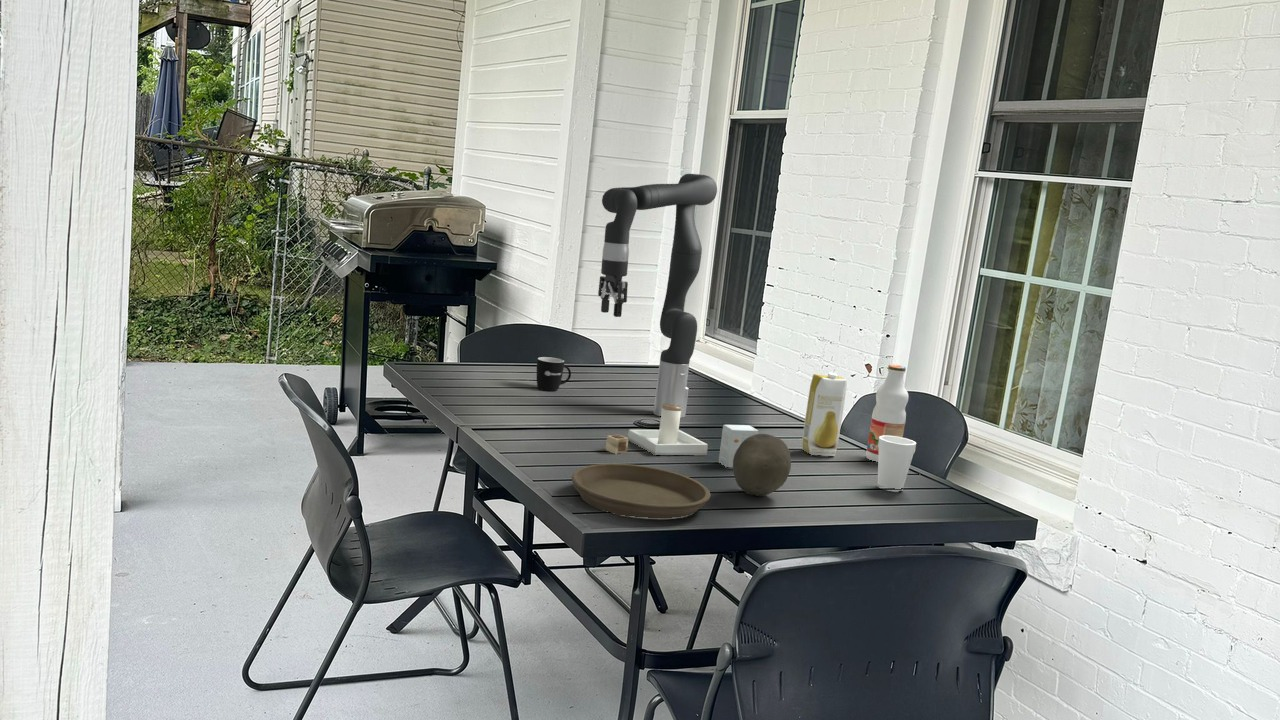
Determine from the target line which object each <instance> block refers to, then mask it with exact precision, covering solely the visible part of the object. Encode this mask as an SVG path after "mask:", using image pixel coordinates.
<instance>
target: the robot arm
mask: <svg viewBox="0 0 1280 720" xmlns="http://www.w3.org/2000/svg"><path fill="white" fill-rule="evenodd" d="M717 193H718V185H717V183H716V181H715V179H714V178H712V177H711V176H709V175H707V174H706V175H705V174H698V173H685V174H683V175H682V176H681V178H680V179H679V181H678V183H651V184H645V185H643V184H642V185H638V186H632V187H623V186H622V187H612V188H609V189H608V190H606V191H605V192H604V194H603V195H602V198H601V205H602V206H603V208H604V210H606V211H607V212H609V213H612V214H615V217H614V220H612V221H609V222H608V223H606V225H605V231H604V240H603V242H604V243H603V248H602V256H601V257H602V258H601V259H602V260H601V269H600V274H602V276H601V275H600V276H599V282H598V283H599V285H598V293H597V295H598V297H600V299H601V305H600V312H601V313H609V311H610V299H611V298H613V301H614V302H613V314H612V315H613V317H615V318H621V317H622V310H623V305H624V303H625V304H627V302H628V281H623V277H627V275H628V268H629V267H628V266H629V254H630V253H629V252H630V251H629V250H630V248H629V243H630V230H631V228H632V225H633V221H634V218H635V216H636V212H637V211H645V210H647V211H648V210H652V209H658V208H664V207H670V206H675V223H674V232H673V233H674V234H673V240H672V248H671V255H670V263H669V264H670V265H669V273H668V279H667V285H666V292H665V293H666V294H665V297H664V302H663V305H662V309H661V310H662V311H661V314H660V320H659V328H660V332H661V334H662V335H663V336H664V337H666V338H668V339H670V341H669V342H670V343H669V346H668V348H666V349H664V350H662V351H661V353H660V358H659V365H658V374H657V382H656V389H655V398H654V405H653V415H654V416H657V417H660V416H661V413H662V404H665V403H669V404H676V405H680V406H682V410H681V415H680V419H681V418H685V417H686V413H687V412H686V411H687V405H688V397H689V396H688V395H689V389H690V388H689V387H688V386H687V385H688V375H689V370H690V369H689V368H690V361H691V358H692V356H693V354H694V352H695V351H694V350H695V345H696V340H697V333H698V321H697V319H696V317H695V316H694V315H693V314H691V313H689V312H687V311H685V305H686V297H687V294H688V291H689V290H690V288H691V286H692V285H693V283H694V282H695V279H696V278H697V275H698V274H699V271H700V267H701V259H702V252H703V251H702V250H703V249H702V243H701V239H700V237H699V234H698V230H697V226H696V221H695V220H696V219H695V217H696V206H707V205H709V204H712V202H714V200H715V199H716V196H717Z"/></svg>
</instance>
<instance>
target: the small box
mask: <svg viewBox="0 0 1280 720" xmlns="http://www.w3.org/2000/svg"><path fill="white" fill-rule="evenodd" d="M756 434H759V430H758V429H756V428H755V427H753V426H751V425H748V424H747V425H746V424H723V426H722V432H721V439H720V440H721V441H720V449H719V455H718V463H719V464H720V463H721V464H720V465H722V466H723V465H724V466H725V468H726V467H733V459H734V455H735V453H736V451H737V449H738V448H739V446H740V445H741V443H742V442H743V441H744V440H745V439H747V438H748V437H750V436H753V435H756ZM724 466H723V467H724Z"/></svg>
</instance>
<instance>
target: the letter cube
mask: <svg viewBox="0 0 1280 720" xmlns="http://www.w3.org/2000/svg"><path fill="white" fill-rule="evenodd" d="M628 439H629V438H628V437H626V436H623V435H622V434H621V435H620V434H612V435H611V434H609V435H607V437H606V444H605V451H606V452H610V453H612V454H614V453H615V455H618V454H617V453H621V454H627V453H628V446H629V441H628ZM626 452H627V453H626Z"/></svg>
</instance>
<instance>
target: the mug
mask: <svg viewBox="0 0 1280 720" xmlns="http://www.w3.org/2000/svg"><path fill="white" fill-rule="evenodd" d="M564 368H565V369H567V371H568V376H567V378H566V379H565V380H563V381H562V378H563V373H564ZM571 371H572V370H571V369H570V367H569V366H568V365H566V364H565V360H563V359H561V358H557V357H551V356H550V357H547V356H542V357H538V358H537V359H536V385H537V388H538V390H540V391H543V392H558V390H559V388H560V386H561V385H564V384H567V382H569V381H570V379H571V377H572V372H571Z"/></svg>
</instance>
